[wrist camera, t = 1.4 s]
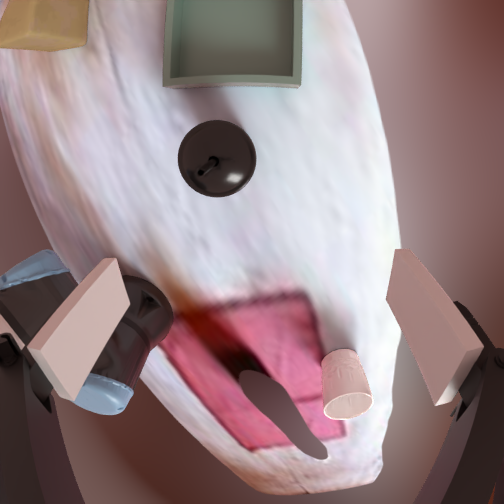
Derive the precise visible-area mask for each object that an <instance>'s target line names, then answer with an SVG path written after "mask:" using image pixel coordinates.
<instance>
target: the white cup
mask: <svg viewBox="0 0 504 504" xmlns="http://www.w3.org/2000/svg"><path fill="white" fill-rule="evenodd" d="M321 366H322V377H321V378H322V395H323V412H324V414H325V415H326V416H327V417H329V418H331V419H336V420H344V419H350V418H354V417H357V416H359V415H361V414H363V413H365V412H366V411H367V410H368V409H370V407H371V406H372V404H373V396H372V393H371V390H370V387H369V384H368V381H367V378H366V375H365V373H364V369H363V367H362V365H361V362H360V359H359V356H358V355H357V354H356V352H355V351H353V350H350V349H338V350H335V351H332V352H330V353H329V354H328V355H326V356H325V357H324V359H323V360H322V362H321Z"/></svg>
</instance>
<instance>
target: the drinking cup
mask: <svg viewBox="0 0 504 504" xmlns="http://www.w3.org/2000/svg"><path fill="white" fill-rule="evenodd" d="M178 166H179V170H180V173H181V175H182V177H183V179H184V180H185V181H186V183H187V184H188V185H189V186H190V187H191V188H192V189H194V190H195V191H197V192H198V193H200V194H203V195H205V196H209V197H225V196H229V195H232V194H234V193H236V192H238V191H240V190H241V189H242V188H243V187H244V186H245V185H246V184H247V183H248V182H249V181H250V179H251V177H252V175H253V173H254V170H255V167H256V151H255V147H254V144H253V142H252V140H251V139H250V137H249V136H248V134H247V133H246V132H245V131H244V130H243V129H241V128H240V127H239V126H237V125H235V124H233V123H230V122H227V121H221V120H213V121H207V122H204V123H201V124H199V125H197V126H195V127H194V128H193V129H191V130H190V131H189V132H188V133H187V134H186V136H185V137H184V139H183V140H182V142H181V145H180V147H179V152H178Z"/></svg>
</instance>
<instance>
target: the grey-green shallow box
mask: <svg viewBox="0 0 504 504" xmlns="http://www.w3.org/2000/svg"><path fill="white" fill-rule="evenodd" d="M301 73H302V0H167V8H166V20H165V34H164V53H163V87H167V88H172V89H181V88H196V87H220V86H259V87H282V88H297V89H298V88H299V87H300V86H301Z"/></svg>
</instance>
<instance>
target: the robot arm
mask: <svg viewBox="0 0 504 504" xmlns="http://www.w3.org/2000/svg"><path fill="white" fill-rule="evenodd" d="M386 300H387V302H388V304H389V306H390V308H391V310H392V312H393V314H394V316H395V318H396V320H397V322H398V324H399V326H400V328H401V330H402V332H403V334H404V336H405V338H406V340H407V343H408V345H409V347H410V349H411V351H412V353H413V356H414V358H415V360H416V362H417V364H418V367H419V369H420V371H421V373H422V376H423V378H424V380H425V383H426V385H427V388H428V390H429V393H430V395H431V397H432V400H433V403H434V405H435V406H437V405H440V404H444V403H448V402H451V401H452V400H453V398H454V397H455V396H456V394H457V393H458V391H459V393H460V395H461V397H462V399H461V400H460V402H459V403H458V404H457V406H456V407H455V409H454V410H453V412H452V413H451V415H450V416H451V417H452V416H453V415H454V413H455V415H454V418H453V420H452V423H451V426H450V428H449V431H448V434H447V436H446V438H445V441H444V443H443V446H442V448H441V450H440V453H439V455H438V457H437V459H436V461H435V463H434V466H433V467H432V470H431V472H430V474H429V476H428V477H427V479H426V481H425V483H424V485H423V487H422V489H421V491H420V492H419V494H418V496H417V498H416V499H415V501H414V503H413V504H488V502H489V499H490V497H491V494H492V491H493V488H494V486H495V492H494V500H493V504H504V349H502V348H495V347H494V345H493V344H492V342H491V341H490V339H489V338H488V336H487V335H486V333H485V332H484V331H483V329H482V328H481V326H480V325H478V322H477V321H476V320H475V318H473V315H472V314H471V313H470V312H469V310H468V309H467V308H466V307H465V306H463V305H462V304H461V303H459V302H458V301H455V302H452V300H451V299H450V298H449V296H448V295H447V294H446V293H445V291H444V290H443V289H442V287H441V286H440V285H439V284H438V282H437V281H436V280H435V279H434V277H433V276H432V275H431V274H430V273H429V271H428V270H427V269H426V268H425V266H424V265H423V264H422V263H421V262H420V261H419V259H418V258H417V257H416V256H415V255H414V254H413V252H412V251H411V250H410V249H395V253H394V259H393V265H392V270H391V276H390V281H389V286H388V291H387V296H386ZM172 323H173V312H172V308H171V306H170V304H169V302H168V300H167V299H166V297H165V296H164V295H163V293H162V292H161V291H160V290H159V289H157V288H156V287H155V286H154V285H152V284H151V283H149V282H147V281H145V280H143V279H140V278H137V277H133V276H121V273H120V269H119V266H118V262H117V259H116V258H103V259H102V261H101V262H100V263H99V264H98V265H97V266H96V267H95V268H94V269H93V270H92V271H91V272H90V273H89V274H88V275H87V276H86V277H85V279H84V280H83V281H82V282H81V283H80V284H79V285H78V283H77V282H76V280H75V279H74V277H73V276H72V274H71V273H70V270H69V268H67V267H66V266H65V265H64V263H63V262H62V261H61V259H60V258H59V256H58V255H57V254H56V253H55V252H54V251H52V250H48V249H47V250H42V251H40V252H38V253H36V254H34V255H32V256H31V257H29V258H27V259H25V260H24V261H22V262H21V263H19V264H18V265H16V266H14V267H13V268H11V269H10V270H9V271H8V272H6V273H5V274H3V275H2V276H1V277H0V504H85V502H84V500H83V498H82V495H81V493H80V490H79V487H78V484H77V482H76V479H75V476H74V474H73V471H72V467H71V464H70V461H69V458H68V455H67V451H66V448H65V444H64V441H63V437H62V433H61V429H60V425H59V421H58V416H57V411H56V407H55V402H54V398H53V396H52V395H51V391H52V389H53V388H54V389H55V390H56V392H57V393H58V394H59V396H60V397H62V398H65V399H68V400H70V401H72V402H73V403H75V404H76V405H78V406H80V407H82V408H84V409H87V410H89V411H92V412H95V413H99V414H104V415H115V414H118V413H120V412H122V411H123V410H124V409H125V407H126V405H127V404H128V402H129V400H130V398H131V397H132V395H133V391H134V388H135V386H136V383H137V381H138V379H139V376H140V374H141V371H142V369H143V367H144V364H145V362H146V360H147V357H148V355H149V353H150V351H151V350H152V349H153V348H154V347H155V346H156V345H157V344H159V342H161V341H162V340H163V339H164V338H165V337H166V336H167V334H168V333H169V331H170V328H171V326H172ZM495 483H496V485H495Z"/></svg>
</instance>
